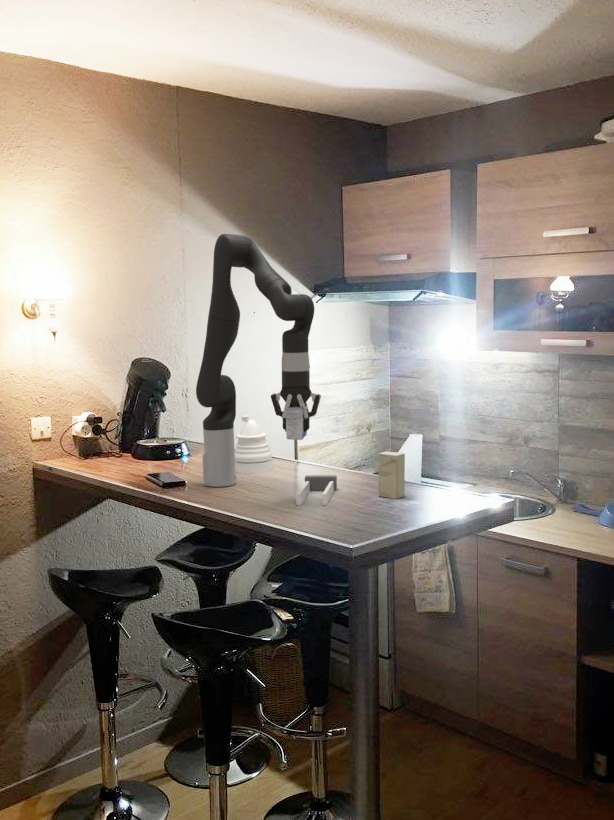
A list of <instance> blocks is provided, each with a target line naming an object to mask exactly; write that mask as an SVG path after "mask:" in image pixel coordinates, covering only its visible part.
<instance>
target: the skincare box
mask: <svg viewBox="0 0 614 820" xmlns="http://www.w3.org/2000/svg"><path fill="white" fill-rule="evenodd" d="M405 456H406V454H405V453H403V452H396V451H383V452H379V453H378V497H383V498H389V499H394V500H395V499H397V500H398V499H400V498H403V497H405V492H406V491H405V487H406V486H405V483H406V480H405V475H406V474H405V473H406V470H405V469H406V468H405V467H406V466H405V464H406V463H405V462H406V461H405V458H406V457H405Z"/></svg>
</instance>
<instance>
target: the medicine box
mask: <svg viewBox="0 0 614 820" xmlns="http://www.w3.org/2000/svg"><path fill="white" fill-rule="evenodd" d="M303 419H304V415H303V408H302V407H298V406H290V407H289V408H287V409H286V432H285V433H286V436H285V437H286V439H287V440H292V441H293V440H294V441H295V440H299V441H302V440H303V439H305V437H306V436H307V434H308V433H307V432H308V431H307V432H304V430H303Z"/></svg>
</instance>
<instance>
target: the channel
mask: <svg viewBox="0 0 614 820" xmlns="http://www.w3.org/2000/svg"><path fill="white" fill-rule="evenodd" d="M337 490H338V476H337V475H336V474H335V475H334V474H332V475H330V474H329V475H327V474H325V475H322V474H321V475H318V474H317V475H315V474H314V475H313V474H311V475H305V476H304V484H303V485H302V486H301V488H300V489H299V490H298V491H297V493H296V506H301V505H302V503H303V502H304V501H305V499H306V498H307V496H308V495H309V494H310V491H313V492H314V491H315V492H316V491H317V492H319V491H320V492H322V493H321V500H322V506H327V504H328V502H329V501H330V499H331V498H332V495H333V494H334V492H336V491H337Z"/></svg>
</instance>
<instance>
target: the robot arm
mask: <svg viewBox="0 0 614 820" xmlns="http://www.w3.org/2000/svg"><path fill="white" fill-rule="evenodd" d="M212 266H213V267H212V269H213V270H212V286H211V296H210V303H209V304H210V305H209V310H208V315H207V316H208V317H207V324H206V335H205V341H204V346H203V347H204V348H203V354H202V355H203V356H202V361H201V363H200V365H201V366H200V367H199V369H200V370H199V372H198V377H197V381H196V385H195V386H196V388H195V394H196V400H197V401H198V403H199V404H200V405H201V406H202V407H204V408H211V410H210V412H209V414H208V415H207V416H206V417H205V418H204V419H203V421H202V428H203V429H202V431H203V450H204V451H203V454H202V473H203V474H202V476H203V486H204V487H213V488H216V487H217V488H219V487H223V488H224V487H230V486H233V485H236V484H237V472H236V469H235V449H236V446H235V428H234V427H235V423H234V422H235V420H236V417H237V415H236V414H237V413H236V412H237V410H236V409H237V408H236V407H237V392H236V386H235V384H234V381H233V380H232V378H231V377H230V376H228V375H226V374H222V370H223V366H224V362H225V360H226V358H227V357H228V354H229V353H230V350H231V349H232V347H233V345H234V344H235V342H236V339H237V337H238V334H239V327H240V321H241V320H240V319H241V310H240V308H239V305H238V301H237V300H236V297H235V294H234V291H233V288H232V283H231V282H232V281H231V276H232V275H231V274H232V268H244V269H247V270H248V271H250V272H251V273H252V274H253V275H254V283H255V286H256V288H257V290H258V291H259V292H260V293H261V294H262V295H263V296H264V297H265V298H266V299H267V300H268V301H269V303H270V305H271V307H272V309H273V311H274V313H275V315H276V317H278V318H279V319H281V320H283V321H285V322H294V324H293V325H292V328H290V329H288V330H285V331H284V332H283V333H282V337H281V341H282V344H281V349H282V355H281V390H280V391H279V392H278V393H275V392H274V393H272V394H271V395H270V400H271V402H272V405H273V409H274V413H275V415H276V416H279V417H281V418H282V429H283V430H284V432H285V433H286V409H287V408H289V407H290V406H298V407H302V408H303V415H304V419H303V430H304V432H308V430H310V418H311V417H315V416H316V415H317V412H318V409H319V404H320V402H321V399H322V395H321V394H319V393H318V394H317V393H314V392H312V390H311V389H310V388H311V387H310V386H311V385H310V373H311V372H310V369H311V365H310V355H309V335H310V332H311V327H312V323H313V320H314V316H315V304H314V301H313V299H312V297H310V296H309V295H308V294H304V293H301V294H300V293H297V294H293V292H292V287H291V285H290V284H289V282H287V281H286V279H284V278H283V277H282V276H281V275H280V274H279V273H278V272H277V271H276V270H275V269H274V268H273V267H272V266H271V265H270V263H269V262H268V260H267V259H266V258H265V256H264V255H263V253H262V252H261V250H260V248H259V247H258V245H257V244H256V243H255V242H254V241H253V240H252V238H251V237H249V236H246V235H242V234H230V233H222V234H220V235H219V236H218V237H217V239H216V242H215V244H214V250H213V265H212ZM310 398H311V401H312V402H313V403H312V408H311V410H310V411H309V406H308V404H307V403H308V400H309V399H310ZM281 399H283V401H284V402H285V403H284V404H285V405H284V408H283V410H282V408H281V405H280V400H281Z"/></svg>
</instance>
